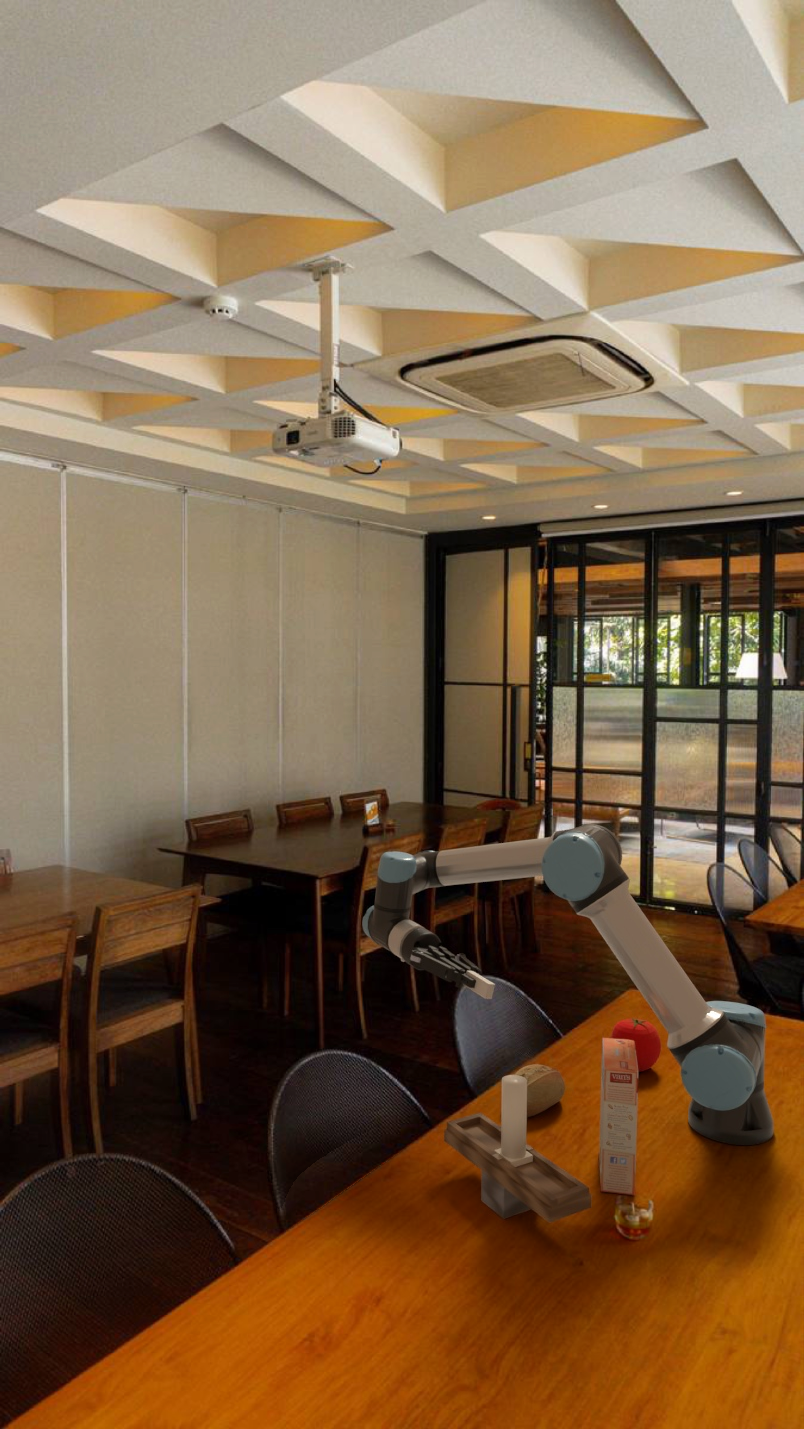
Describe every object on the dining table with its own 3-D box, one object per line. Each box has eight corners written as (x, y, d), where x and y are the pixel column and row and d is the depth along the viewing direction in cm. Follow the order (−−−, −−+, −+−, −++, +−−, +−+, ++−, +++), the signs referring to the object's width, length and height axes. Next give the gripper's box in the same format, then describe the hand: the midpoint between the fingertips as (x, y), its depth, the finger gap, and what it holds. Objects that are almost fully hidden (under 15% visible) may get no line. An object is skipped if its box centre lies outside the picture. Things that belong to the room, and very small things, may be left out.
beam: (590, 1240, 141) (591, 1185, 141) (548, 1256, 137) (549, 1200, 137) (482, 1157, 165) (482, 1111, 165) (443, 1169, 161) (444, 1121, 161)
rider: (532, 1161, 150) (533, 1082, 150) (510, 1168, 148) (511, 1088, 148) (516, 1149, 154) (516, 1072, 154) (494, 1156, 152) (495, 1077, 151)
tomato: (598, 1066, 205) (599, 1017, 205) (630, 1054, 212) (631, 1007, 211) (637, 1083, 197) (638, 1032, 196) (669, 1070, 203) (670, 1021, 203)
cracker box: (637, 1197, 153) (639, 1070, 152) (599, 1193, 154) (601, 1067, 154) (633, 1155, 167) (635, 1038, 166) (599, 1151, 168) (600, 1035, 167)
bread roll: (577, 1102, 188) (578, 1063, 187) (535, 1128, 177) (535, 1086, 176) (537, 1088, 194) (537, 1050, 194) (493, 1112, 183) (494, 1072, 183)
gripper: (437, 965, 190) (512, 1012, 170) (384, 962, 182) (456, 1011, 163) (446, 928, 190) (522, 972, 170) (393, 924, 182) (466, 969, 163)
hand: (490, 991), depth 166 cm, fingers closed
